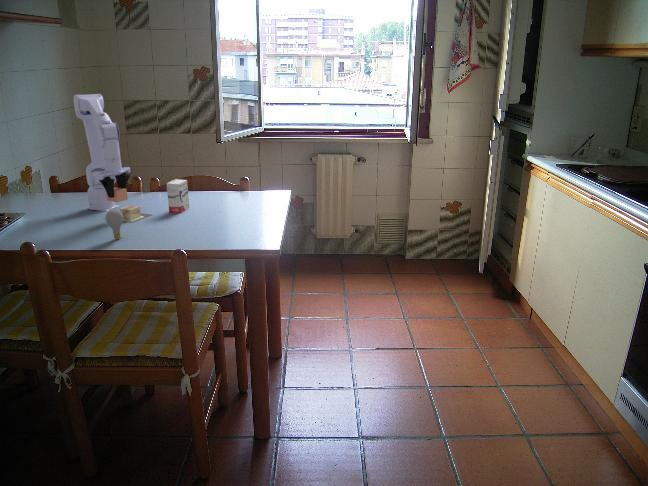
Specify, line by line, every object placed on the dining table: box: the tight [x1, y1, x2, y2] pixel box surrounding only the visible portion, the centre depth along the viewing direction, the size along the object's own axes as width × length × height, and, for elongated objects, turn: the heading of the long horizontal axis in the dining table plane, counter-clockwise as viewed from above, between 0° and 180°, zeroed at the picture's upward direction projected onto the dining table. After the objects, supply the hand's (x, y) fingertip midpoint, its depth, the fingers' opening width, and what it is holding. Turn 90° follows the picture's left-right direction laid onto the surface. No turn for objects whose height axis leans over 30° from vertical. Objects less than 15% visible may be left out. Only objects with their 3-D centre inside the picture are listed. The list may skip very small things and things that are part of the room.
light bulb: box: [105, 209, 124, 240], centre depth 177 cm, size 5×5×10 cm
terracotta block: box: [106, 187, 129, 203], centre depth 197 cm, size 5×5×4 cm
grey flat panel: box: [103, 212, 153, 224], centre depth 203 cm, size 14×12×1 cm
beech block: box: [119, 205, 141, 220], centre depth 201 cm, size 5×5×4 cm
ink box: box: [166, 178, 190, 214], centre depth 210 cm, size 9×5×12 cm, turn 169°
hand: (116, 195), depth 197 cm, fingers closed on terracotta block, 5 cm apart
